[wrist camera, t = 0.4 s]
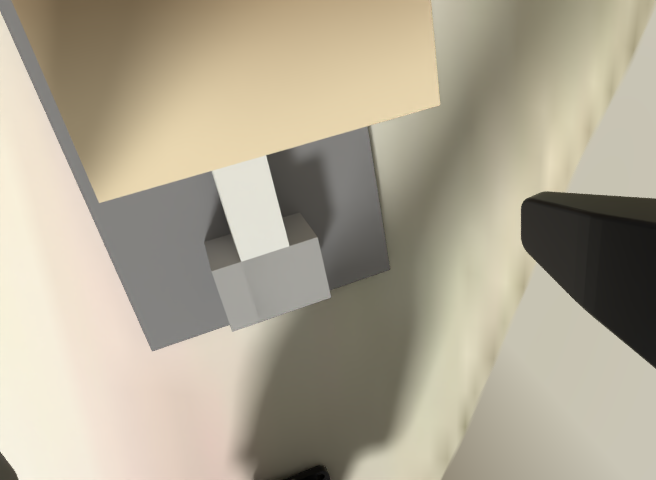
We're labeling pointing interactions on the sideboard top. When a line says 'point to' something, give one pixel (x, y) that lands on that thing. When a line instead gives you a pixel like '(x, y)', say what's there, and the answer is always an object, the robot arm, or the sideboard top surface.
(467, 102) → the sideboard top surface
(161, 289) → the grey board
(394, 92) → the notched wooden block
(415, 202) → the sideboard top surface
